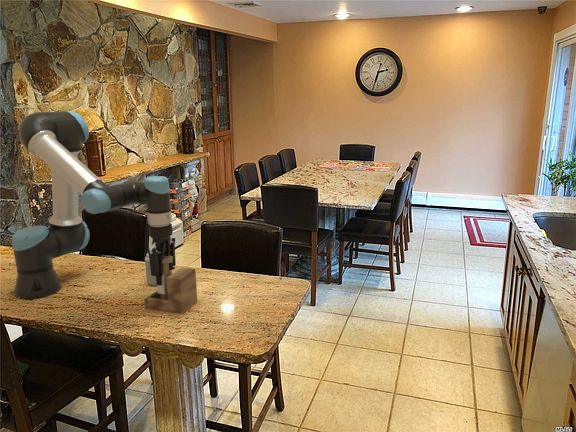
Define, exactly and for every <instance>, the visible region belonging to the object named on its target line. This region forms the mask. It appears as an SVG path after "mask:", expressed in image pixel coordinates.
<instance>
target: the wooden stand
mask: <svg viewBox="0 0 576 432" xmlns="http://www.w3.org/2000/svg"><path fill="white" fill-rule="evenodd" d="M166 279H167V291H168V300H164V299H161V294H159V293H158V292H157V290H155V291H154V292H153V293H151V294H150V295H148V296H147V297H145V298H144V305H145V310H151V311H159V312H167V313H174V314H181V315H183V314H185V312H187V311H188V310H189V309H191V308H192V307H193V306H194V305H196V303H198V292H197V291H198V289H197V274H196V268H189V267H183V266H182V267H181V268H179V269H178V270H176V271H175V272H172V274H171V275H170V276H168V277H167V278H166Z"/></svg>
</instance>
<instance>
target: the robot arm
mask: <svg viewBox="0 0 576 432" xmlns="http://www.w3.org/2000/svg"><path fill="white" fill-rule="evenodd" d="M89 129H90V128H89V126H88V124H87V122H86V120H85V119H84V117H83V116H82V115H81V114H80V113H78V112H76V111H67V110H62V111H61V110H60V111H58V110H57V111H44V112H43V111H38V112H37V111H36V112H32V113H30V114H28V115H26V116H25V117H24V118H23V119H22V121H21V122H20V125H19V129H18V136H19V140H20V142H21V143H22V145H23V146H24V148H25V149H26V150H27V151H28V152H29V153H30V154H31V155H33V156H36V157H37V156H38V157H39V158H40V159H41V160H42V161H44V162H45V163H46V164H47V165H48V166H49V167H50V168H51V186H52V187H51V190H52V216H51V217H50V218H49V219H48V226H46V225H41V224H40V225H33V226H28V227H25V228H22V229H20V230H18V231H16V232H15V233H13V236H12V239H11V240H12V241H11V243H12V244H11V245H12V250H13V255H14V261H15V268H16V273H17V275H16V282H15V286H14V289H13V291H14V296H15V295H16V296H17V297H16V296H15V297H16V298H18V297H20V298H19V299H21V298H34V299H37V298H36V297H40V298H43V296H45V297H48V296H50V294H51V295H53V294H55V293H58V292H59V291H60V290H61V289H62V283H61V280H60V278H59V276H58V274H57V272H56V270H55V269H54V264H53V259H56V258H60V257H62V256H66V255H69V254H73V253H77V252H78V251H80V250H83V249H84V248H85V247H86V246H87V245H88V243H89V241H90V230H89V228H88V225H87V224H86V222H85V221H83V217H81V216H79V194H80V195H81V204H82V206H83V207H84V210H85V211H86V212H87V213H89V214H91V215H96V214H103V213H107V212H111V211H113V210H117V209H120V208H126V207H130V206H132V205H143V206H144V205H145V206H146V214H147V215H146V217H147V224H148V235H149V237H150V238H151V239H152V241H151V242H152V243H151V247H147V249H146V251H147V253H148V254H149V260H150V269H151V275H152V276H156V284H157V286H156V288H157V289H156V291H157V292H158V293H159V294H166V288H165V275H163V263H162V260H163V256H173V261H172V262H171V263H169V271H170V275H171V274H173V271H175V269H176V267H175V266H176V263H177V262H176V247H175V246H176V238H175V237H171V236H173V224H172V218H173V217H172V206H171V188H170V183H169V179H168V177H167V176H162V175H161V176H160V175H154V176H148V177H146V178H145V179H144V181H140V180H139V181H138V180H133V179H125V180H121V181H120V182H119V183H118V184H113V185H112V184H111V185H107V184H106V183H105V182H104V181H103V180H102V179H101V178H100V177H98V176H97V175H96V174H95V173H94V172H93V171H92V170H90V168H88V166H86V165H85V164H84V163H83V162H82V161H81V160H80V159H78V155H79V153H81V152H82V151H83V144H84V143H86V142H87V141H88V139H89V136H90V131H89ZM158 252H160V253H158ZM47 295H48V296H47Z"/></svg>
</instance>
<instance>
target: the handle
mask: <svg viewBox="0 0 576 432" xmlns="http://www.w3.org/2000/svg"><path fill="white" fill-rule="evenodd" d="M172 261H173V256H163V260H162V263H163V275H165V288H166V294H161V299H164V300H168V291H167V279H166V278H167V277H168V276H170V271H169V263H171V262H172Z"/></svg>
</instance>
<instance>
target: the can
mask: <svg viewBox="0 0 576 432" xmlns="http://www.w3.org/2000/svg"><path fill="white" fill-rule="evenodd" d="M158 253H160V252H158ZM145 254H146V256H145V257H144V262H145V263H144V264H145V275H146V283H147V284H149V285H150V286H152V287H154V286H155V287H157V284H156V276H152V275H151V269H150V260H149V254H148V252H147V253H145Z"/></svg>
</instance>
